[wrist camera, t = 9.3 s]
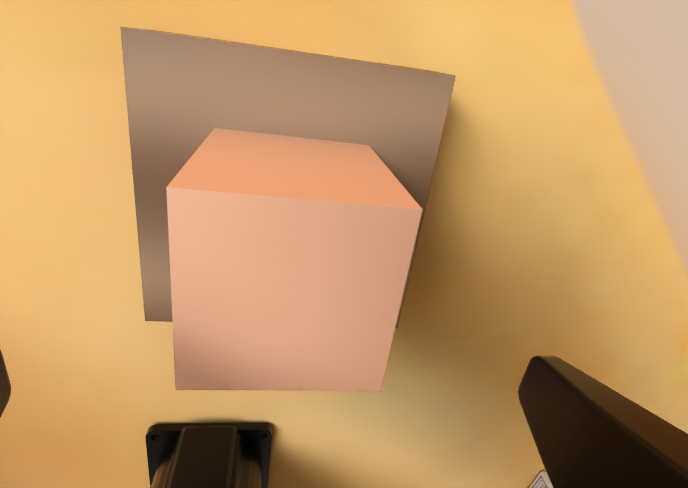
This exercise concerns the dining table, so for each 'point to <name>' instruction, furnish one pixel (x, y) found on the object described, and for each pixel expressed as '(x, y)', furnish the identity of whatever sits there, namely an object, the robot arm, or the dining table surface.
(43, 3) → the dining table surface
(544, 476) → the medicine box
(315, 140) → the terracotta block
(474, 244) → the dining table surface
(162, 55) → the walnut base
